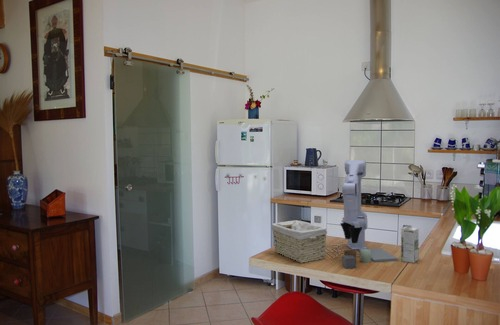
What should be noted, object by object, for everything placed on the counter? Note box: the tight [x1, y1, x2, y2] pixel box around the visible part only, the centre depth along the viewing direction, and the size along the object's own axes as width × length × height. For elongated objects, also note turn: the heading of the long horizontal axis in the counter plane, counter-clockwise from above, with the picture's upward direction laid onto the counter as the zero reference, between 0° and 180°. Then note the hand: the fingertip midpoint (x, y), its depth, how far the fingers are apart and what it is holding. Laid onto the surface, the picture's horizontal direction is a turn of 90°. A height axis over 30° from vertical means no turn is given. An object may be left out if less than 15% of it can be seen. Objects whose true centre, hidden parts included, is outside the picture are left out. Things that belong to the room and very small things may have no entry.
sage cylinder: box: [359, 248, 372, 264], centre depth 174 cm, size 4×4×5 cm
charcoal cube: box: [342, 255, 357, 270], centre depth 167 cm, size 4×4×4 cm
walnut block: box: [343, 249, 357, 259], centre depth 174 cm, size 4×4×5 cm
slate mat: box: [358, 247, 399, 263], centre depth 182 cm, size 18×11×1 cm, turn 6°
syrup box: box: [400, 226, 420, 264], centre depth 173 cm, size 6×6×14 cm
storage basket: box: [271, 219, 328, 264], centre depth 186 cm, size 24×16×15 cm
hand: (351, 240), depth 173 cm, fingers open, 7 cm apart
